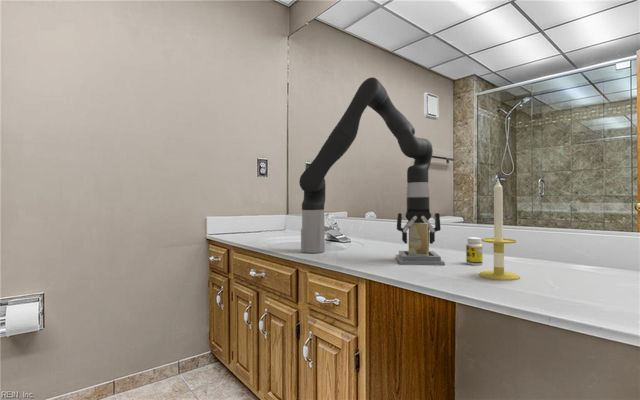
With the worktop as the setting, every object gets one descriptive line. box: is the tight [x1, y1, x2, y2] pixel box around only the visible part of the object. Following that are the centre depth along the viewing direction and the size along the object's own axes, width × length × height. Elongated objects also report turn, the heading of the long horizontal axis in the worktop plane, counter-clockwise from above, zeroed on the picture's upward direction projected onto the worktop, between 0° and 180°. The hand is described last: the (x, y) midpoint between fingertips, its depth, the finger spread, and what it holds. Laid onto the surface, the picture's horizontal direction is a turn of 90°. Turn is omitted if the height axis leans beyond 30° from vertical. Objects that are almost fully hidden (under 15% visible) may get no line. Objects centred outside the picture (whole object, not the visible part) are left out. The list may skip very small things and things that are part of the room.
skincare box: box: [408, 223, 430, 256], centre depth 115 cm, size 6×4×12 cm
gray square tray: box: [395, 250, 446, 266], centre depth 115 cm, size 14×14×2 cm
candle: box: [478, 179, 521, 281], centre depth 92 cm, size 10×10×27 cm
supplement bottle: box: [465, 236, 483, 266], centre depth 109 cm, size 5×5×8 cm
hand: (418, 243), depth 115 cm, fingers open, 8 cm apart
